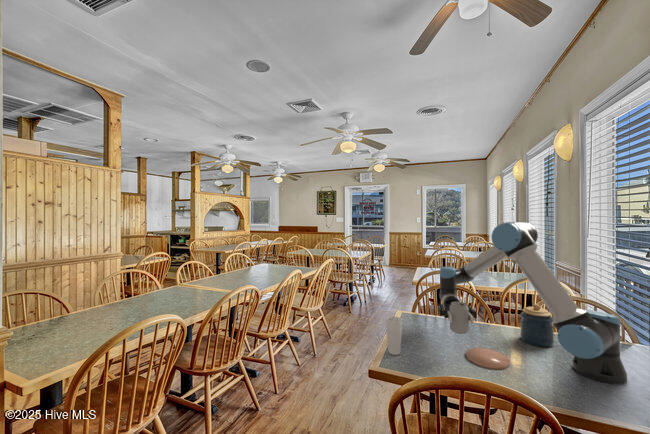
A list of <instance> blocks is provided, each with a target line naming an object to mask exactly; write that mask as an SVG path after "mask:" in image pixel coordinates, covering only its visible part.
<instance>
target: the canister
mask: <svg viewBox="0 0 650 434" xmlns="http://www.w3.org/2000/svg"><path fill="white" fill-rule="evenodd" d="M521 311H522V312H521V313H520V314H519V315H520V317H521V319H520V339H521V340H522V341H523V342H524V343H526V344H528V345H532V346H535V347H540V348H541V347H542V348H550V347H551V348H552V347H553V346H554V343H555V338H554V333H555V329H554V328H555V326H554V324H553V319H554V317H553V315H552V314H551V312H550V311H548V310H547V309H545V308H543V307H540V304H536V303H535V304H533V306H527V307H525V308H522V310H521Z"/></svg>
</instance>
